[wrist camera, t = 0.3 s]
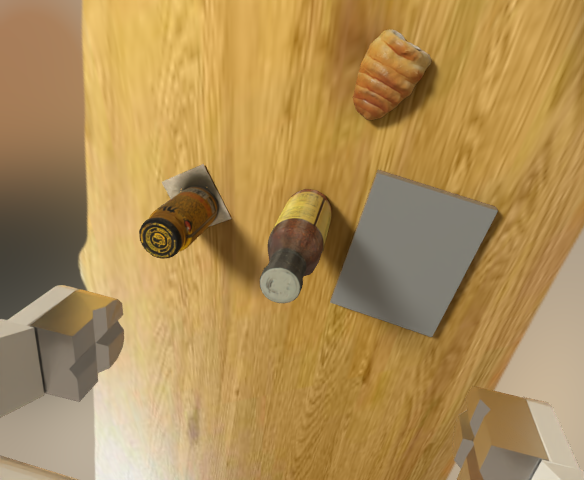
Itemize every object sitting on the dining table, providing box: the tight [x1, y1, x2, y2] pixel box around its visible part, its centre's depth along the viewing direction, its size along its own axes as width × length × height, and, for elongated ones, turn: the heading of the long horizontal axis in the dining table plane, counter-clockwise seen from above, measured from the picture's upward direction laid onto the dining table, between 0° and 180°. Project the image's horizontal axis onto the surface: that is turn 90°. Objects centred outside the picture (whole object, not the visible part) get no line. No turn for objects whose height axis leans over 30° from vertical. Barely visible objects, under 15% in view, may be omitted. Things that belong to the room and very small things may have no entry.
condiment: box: [139, 164, 231, 258], centre depth 57 cm, size 7×8×12 cm
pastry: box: [353, 30, 431, 120], centre depth 49 cm, size 9×7×4 cm
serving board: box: [330, 170, 498, 337], centre depth 58 cm, size 20×15×2 cm
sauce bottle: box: [260, 189, 332, 303], centre depth 50 cm, size 6×6×20 cm
